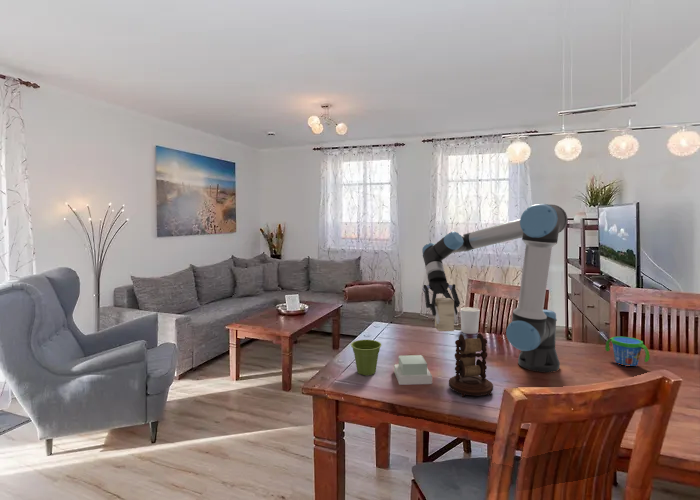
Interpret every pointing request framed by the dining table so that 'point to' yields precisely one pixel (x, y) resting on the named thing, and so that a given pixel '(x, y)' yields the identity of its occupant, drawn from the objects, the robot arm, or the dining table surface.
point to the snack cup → (627, 350)
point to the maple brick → (445, 314)
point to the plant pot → (366, 355)
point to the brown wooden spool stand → (471, 367)
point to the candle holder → (469, 320)
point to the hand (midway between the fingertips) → (446, 321)
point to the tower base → (412, 377)
